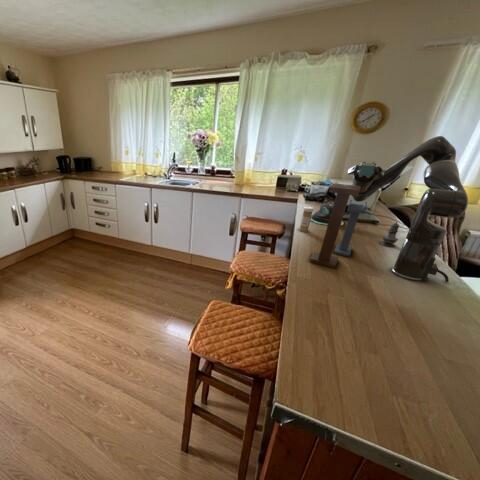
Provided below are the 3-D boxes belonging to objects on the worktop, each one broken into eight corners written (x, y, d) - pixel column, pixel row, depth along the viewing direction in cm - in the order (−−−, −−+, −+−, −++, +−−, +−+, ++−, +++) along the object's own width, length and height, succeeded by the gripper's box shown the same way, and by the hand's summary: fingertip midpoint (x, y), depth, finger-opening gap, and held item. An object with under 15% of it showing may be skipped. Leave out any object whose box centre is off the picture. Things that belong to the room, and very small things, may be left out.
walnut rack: (337, 260, 110) (360, 186, 98) (334, 269, 103) (359, 190, 90) (313, 254, 115) (333, 183, 103) (309, 262, 108) (330, 186, 95)
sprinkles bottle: (309, 231, 143) (315, 207, 137) (305, 232, 140) (311, 209, 135) (301, 228, 146) (307, 205, 141) (297, 230, 144) (302, 207, 139)
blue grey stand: (350, 249, 120) (367, 201, 111) (349, 257, 113) (366, 206, 104) (336, 246, 124) (350, 199, 115) (333, 253, 116) (348, 204, 107)
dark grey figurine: (382, 245, 125) (391, 222, 120) (378, 241, 130) (386, 219, 125) (397, 247, 123) (407, 224, 118) (392, 243, 128) (401, 220, 123)
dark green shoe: (353, 224, 151) (321, 225, 150) (331, 229, 169) (302, 230, 168) (350, 199, 152) (318, 201, 151) (328, 207, 171) (299, 208, 170)
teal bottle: (371, 170, 113) (374, 161, 112) (371, 176, 99) (375, 165, 98) (360, 169, 116) (363, 160, 114) (359, 175, 102) (362, 164, 100)
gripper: (347, 170, 126) (351, 154, 112) (383, 173, 118) (392, 156, 104) (343, 185, 126) (346, 170, 112) (379, 188, 118) (387, 173, 104)
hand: (368, 164), depth 108 cm, fingers closed on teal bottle, 2 cm apart
